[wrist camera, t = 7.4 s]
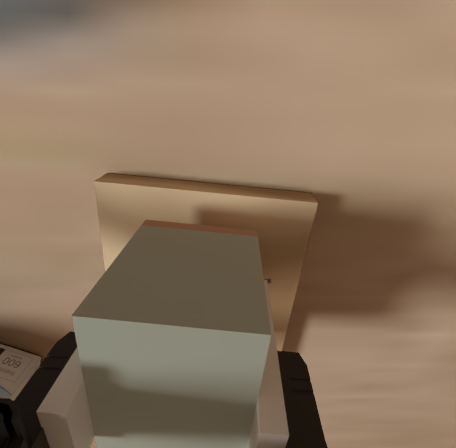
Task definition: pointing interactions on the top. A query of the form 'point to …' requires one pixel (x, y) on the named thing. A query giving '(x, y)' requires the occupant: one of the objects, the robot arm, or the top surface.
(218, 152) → the top surface
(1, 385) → the light bulb box
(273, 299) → the board
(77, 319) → the block
